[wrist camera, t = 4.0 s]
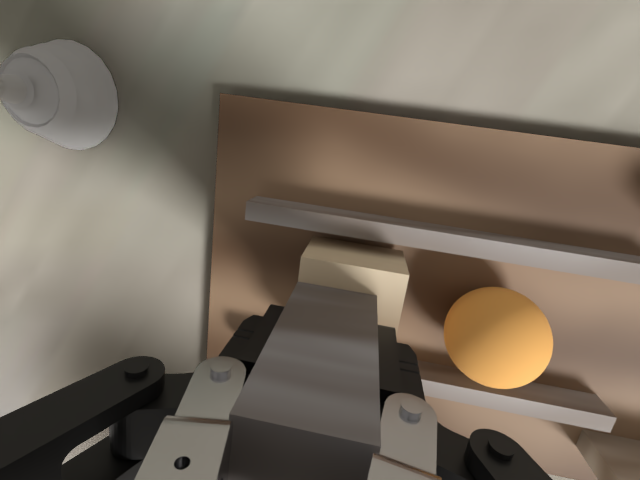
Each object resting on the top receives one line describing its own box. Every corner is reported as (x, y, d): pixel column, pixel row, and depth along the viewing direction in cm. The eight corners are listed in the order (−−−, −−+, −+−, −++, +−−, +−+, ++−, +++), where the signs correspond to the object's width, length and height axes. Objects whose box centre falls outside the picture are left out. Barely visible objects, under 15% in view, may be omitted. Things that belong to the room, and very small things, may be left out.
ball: (447, 265, 17) (469, 304, 13) (539, 281, 16) (591, 325, 12) (428, 343, 18) (443, 399, 14) (514, 359, 17) (554, 422, 14)
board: (228, 95, 17) (186, 83, 13) (925, 187, 14) (1127, 205, 10) (212, 388, 21) (177, 442, 18) (738, 499, 19) (831, 591, 15)
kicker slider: (313, 235, 17) (232, 370, 7) (402, 250, 16) (446, 414, 7) (300, 334, 18) (218, 556, 8) (382, 349, 18) (394, 602, 8)
